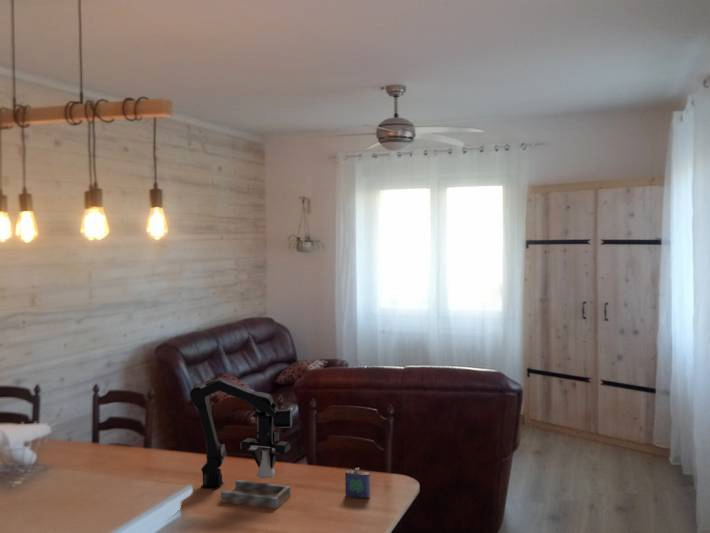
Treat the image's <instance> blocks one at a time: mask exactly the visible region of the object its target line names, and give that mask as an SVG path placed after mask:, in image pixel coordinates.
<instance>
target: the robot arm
mask: <svg viewBox="0 0 710 533" xmlns="http://www.w3.org/2000/svg"><path fill="white" fill-rule="evenodd" d="M216 392H221V393H225V394H227V395H229V396H231V397H234V398H236V399H239V400H241V401H243V402H246V403H248V404H249V405H250V406H251V407H253V408H254V409H256V410H255V411H254V412H253V413H252V414H251V417H252V418H256V419H257V420H256V421H257V422H256V423H257V430H256V432H255V435H257V439H256V438H251V437H250V438H249V437H247V438H246V439H244V440H242V441H241V442H240V450H244V451H247V450H248V451H247V452H248V453H250V454H251V456H252V458H253V459H254V461H255V463H256V464H257V467H258V468H259V467H260V464H261V460H262V454H261V451H262V449H271V452H270V451H269V457H270V466H271V469H272V468H273V469H274V466H275V463H276V460H277V457H278V455H279V454H281V455H282V454H286V453H287V452H289V451H290V450H291V443H290V442H289V441H282V440H281V441H279V440H280V432H277V431H275V428H273V425H274V427H276V428H278V429H279V428H285V429H286V428H292V426H293V416H292V414H293V413H292V409H290V408H287V409H279V407H278V406H277V405H276V403H275V402H274V398H273V395H271V394H270V393H267V392H261V391H253V390H251V389H247V388H245V387H243V386H241V385H238V384H235V383H233V382H232V381H231V382H230V381H228V380H226V379H224V377H223V378H222V377H219V378H218V379H215V380H212V381H210V382H207V383H198V384H197V385H195V387H193V388H192V389H191V390H190V392H189V397H190V398H189V399H190V400H191V403H192V404H193V406H194V407H195V409H196V410H197V412H198V415H199V416H198V417H199V419H200V424H201V428H202V432H203V435H204V439H205V440H204V441H205V444H206V462H205V463H204V464H203V466H201V469H200V471H201V472H202V484H201V486H200V488H201V489H206V490H207V489H209V490H217V489H218V488H219V487H220V486H222V485H224V482H223V473H222V469H221V466H222V465H223V463H224V462H225V461H226V458H227V454H228V452H227V451H226V445H225V443H222V444H221V443H220V441H219V439H218V434H217V432H216V428H215V423H214V421H213V415H212V411H211V408H210V400H211V399H210V395H212V394H215V393H216ZM277 441H278V443H275V442H277Z"/></svg>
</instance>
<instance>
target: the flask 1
mask: <svg viewBox="0 0 710 533" xmlns="http://www.w3.org/2000/svg"><path fill="white" fill-rule="evenodd" d="M260 453H262V454H261V464H260V467H258V470H257V473H256V478H260V479H271V478H274V477H275V476H276V471H275V469H274V467H273V468H272V469H271V466H270V448H261V451H260Z"/></svg>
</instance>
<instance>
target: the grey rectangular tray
mask: <svg viewBox="0 0 710 533" xmlns="http://www.w3.org/2000/svg"><path fill="white" fill-rule="evenodd" d="M234 484H235V487H234V488H233V489H232V490H231V491H230V490H229V491H228V490H222V491H221V492H220V499H221V500H220V502H222V503H228V504H237V505H243V506H253V507H260V508H265V509H266V508H267V509H275V510H277V509H278V508H279V507H281V505H283V503H285V502H286V501H287V500H288V499H289V498H290V497H291V496H292V494H291V486H290V485H283V484H275V483H266V482H259V481H248V480H241V479H240V480H239V479H237V480H235V483H234Z"/></svg>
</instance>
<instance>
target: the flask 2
mask: <svg viewBox="0 0 710 533" xmlns="http://www.w3.org/2000/svg"><path fill="white" fill-rule="evenodd" d="M344 474H345V476H344V477H345V478H344V479H345V483H344V484H345V487H344V488H345V489H344V490H345V492H344V493H345V497H347V498H351V499H364V500H366V499H370V498H371V487H370V486H371V484H370V481H371V479H370V477H371V476H370V474H371V473H369V472H367V471H366V472H363V471H361V472H360V467H355V470H352V469H349V470H346V471H345V473H344Z"/></svg>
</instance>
